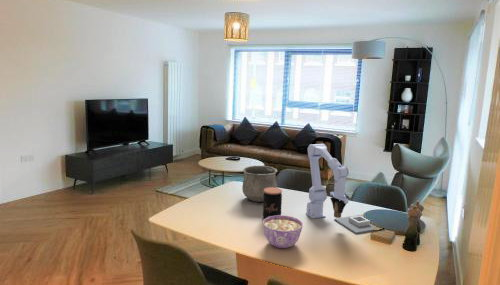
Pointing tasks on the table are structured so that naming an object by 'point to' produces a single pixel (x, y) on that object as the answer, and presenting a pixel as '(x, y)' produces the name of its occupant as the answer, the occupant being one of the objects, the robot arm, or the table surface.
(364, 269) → the table surface
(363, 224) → the grey flat piece
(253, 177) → the pot
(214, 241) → the table surface
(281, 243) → the bowl of food
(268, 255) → the table surface
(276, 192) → the coffee jar
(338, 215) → the walnut peg
